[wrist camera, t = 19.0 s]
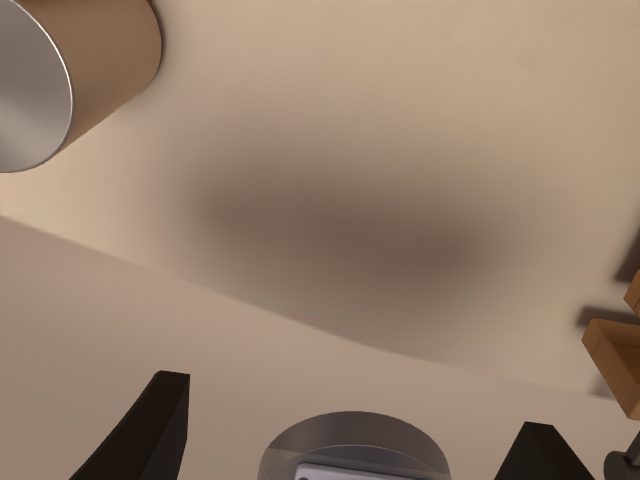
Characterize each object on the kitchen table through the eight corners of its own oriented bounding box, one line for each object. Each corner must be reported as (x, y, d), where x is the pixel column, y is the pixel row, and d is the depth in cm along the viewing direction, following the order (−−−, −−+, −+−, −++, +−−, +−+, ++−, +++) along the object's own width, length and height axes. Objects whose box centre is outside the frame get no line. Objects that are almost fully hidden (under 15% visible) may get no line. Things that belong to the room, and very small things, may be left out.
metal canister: (160, 112, 18) (78, 187, 13) (35, 90, 18) (-104, 157, 13) (163, -24, 16) (68, -6, 11) (23, -50, 16) (-150, -46, 11)
